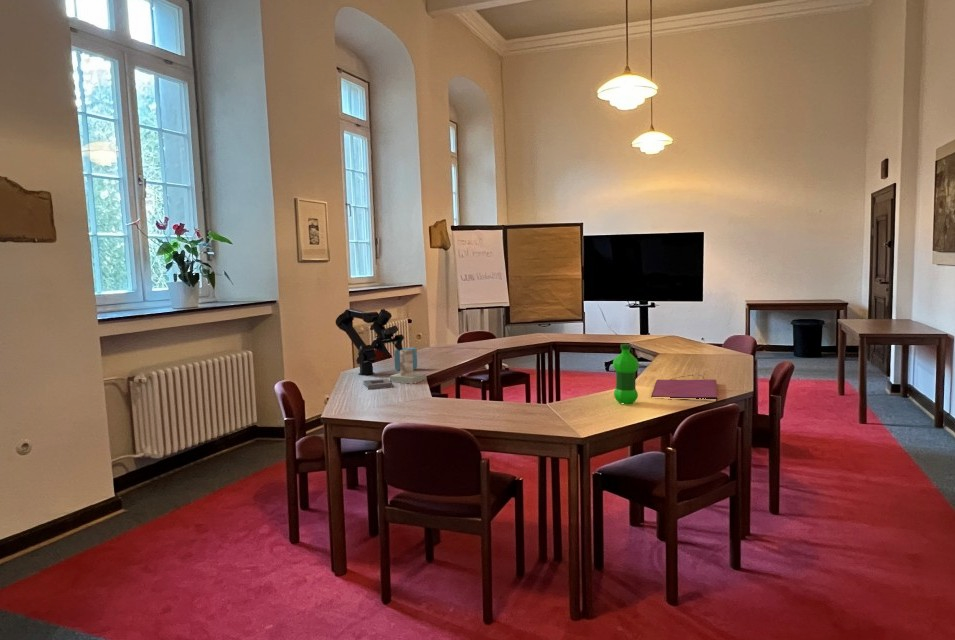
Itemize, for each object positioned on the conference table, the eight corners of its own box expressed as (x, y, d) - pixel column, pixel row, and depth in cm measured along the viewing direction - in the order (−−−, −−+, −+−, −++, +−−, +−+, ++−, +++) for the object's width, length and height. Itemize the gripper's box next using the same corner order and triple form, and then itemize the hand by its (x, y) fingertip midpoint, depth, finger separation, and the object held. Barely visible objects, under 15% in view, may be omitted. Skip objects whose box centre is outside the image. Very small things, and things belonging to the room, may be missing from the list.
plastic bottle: (614, 400, 285) (614, 342, 282) (639, 401, 281) (639, 343, 279) (611, 405, 276) (611, 346, 273) (637, 406, 272) (637, 346, 269)
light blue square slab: (417, 368, 372) (416, 347, 371) (416, 370, 368) (415, 348, 366) (396, 368, 373) (395, 347, 372) (395, 370, 368) (394, 349, 367)
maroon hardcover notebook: (717, 393, 277) (650, 392, 286) (717, 403, 277) (651, 401, 286) (716, 374, 314) (657, 373, 323) (716, 382, 315) (657, 381, 324)
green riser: (390, 381, 337) (389, 375, 337) (404, 377, 348) (404, 371, 347) (412, 384, 330) (412, 378, 330) (426, 379, 340) (426, 373, 340)
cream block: (400, 375, 337) (399, 350, 336) (407, 374, 341) (406, 349, 339) (406, 376, 334) (405, 351, 333) (413, 374, 338) (412, 349, 336)
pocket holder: (363, 384, 332) (363, 380, 332) (387, 382, 336) (387, 378, 335) (367, 389, 320) (367, 385, 320) (392, 386, 324) (392, 382, 324)
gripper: (373, 322, 336) (388, 346, 330) (401, 319, 350) (416, 341, 344) (364, 337, 342) (379, 360, 336) (391, 332, 356) (406, 355, 350)
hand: (395, 353), depth 342 cm, fingers open, 9 cm apart
